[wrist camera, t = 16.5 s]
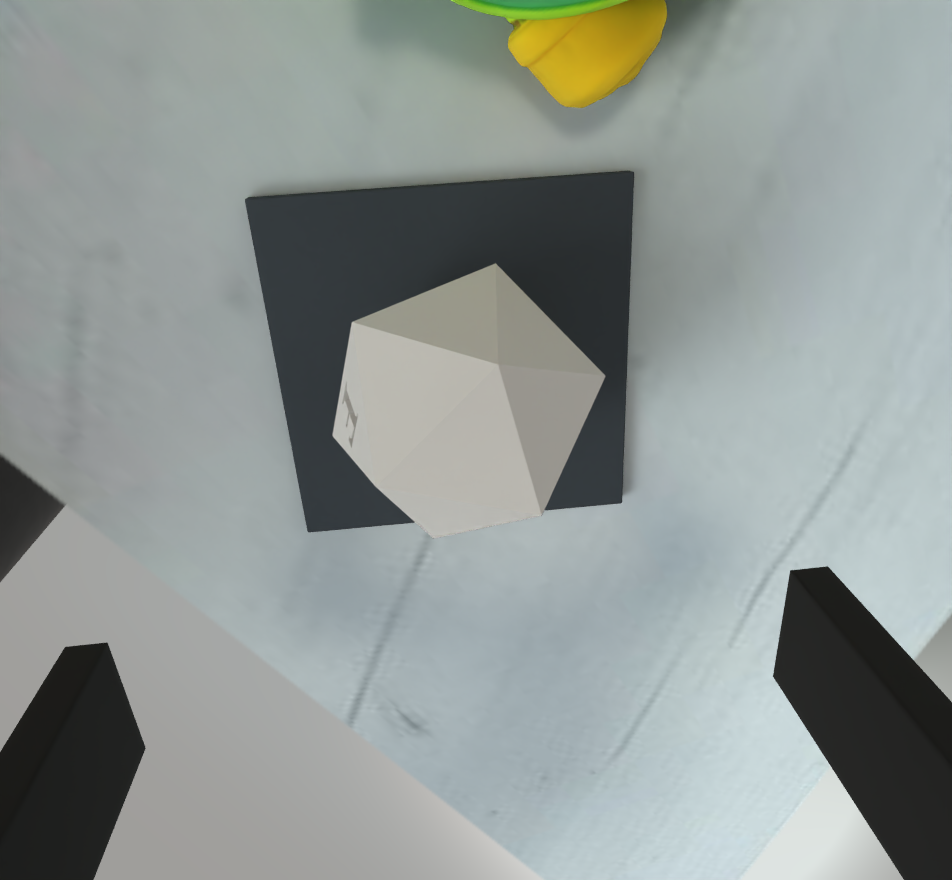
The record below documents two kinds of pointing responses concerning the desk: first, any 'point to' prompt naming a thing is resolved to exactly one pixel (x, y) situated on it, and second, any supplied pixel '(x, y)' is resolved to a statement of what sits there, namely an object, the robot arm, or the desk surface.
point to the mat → (427, 267)
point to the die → (464, 403)
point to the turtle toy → (580, 42)
